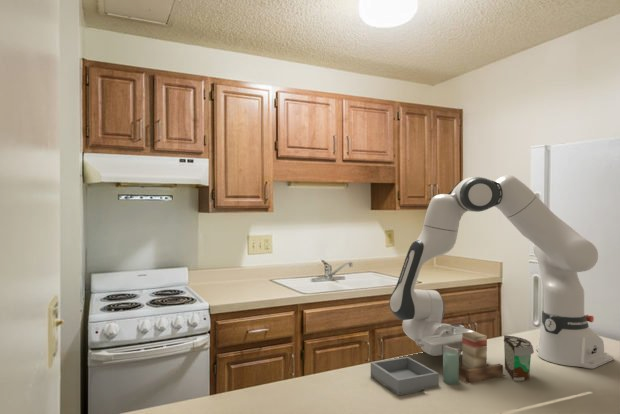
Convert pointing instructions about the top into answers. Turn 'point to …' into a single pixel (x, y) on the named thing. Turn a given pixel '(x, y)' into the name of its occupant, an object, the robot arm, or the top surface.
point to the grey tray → (404, 375)
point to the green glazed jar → (451, 368)
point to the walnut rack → (480, 373)
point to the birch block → (474, 350)
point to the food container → (517, 357)
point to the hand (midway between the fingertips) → (472, 351)
